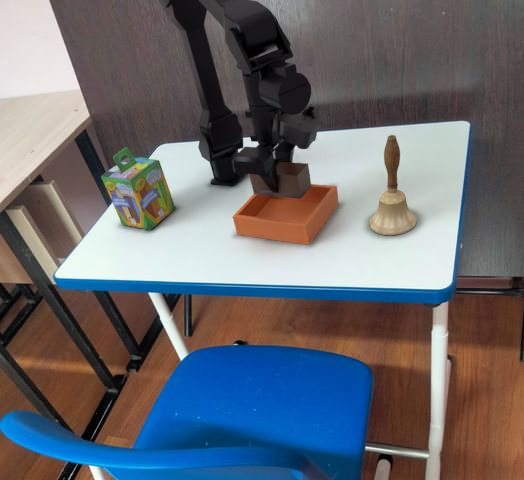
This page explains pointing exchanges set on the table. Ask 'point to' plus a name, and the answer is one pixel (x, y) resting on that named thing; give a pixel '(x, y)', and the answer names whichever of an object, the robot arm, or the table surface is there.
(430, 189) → the table surface
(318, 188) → the tray
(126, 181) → the chalk box
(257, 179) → the eraser
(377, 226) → the hand bell
